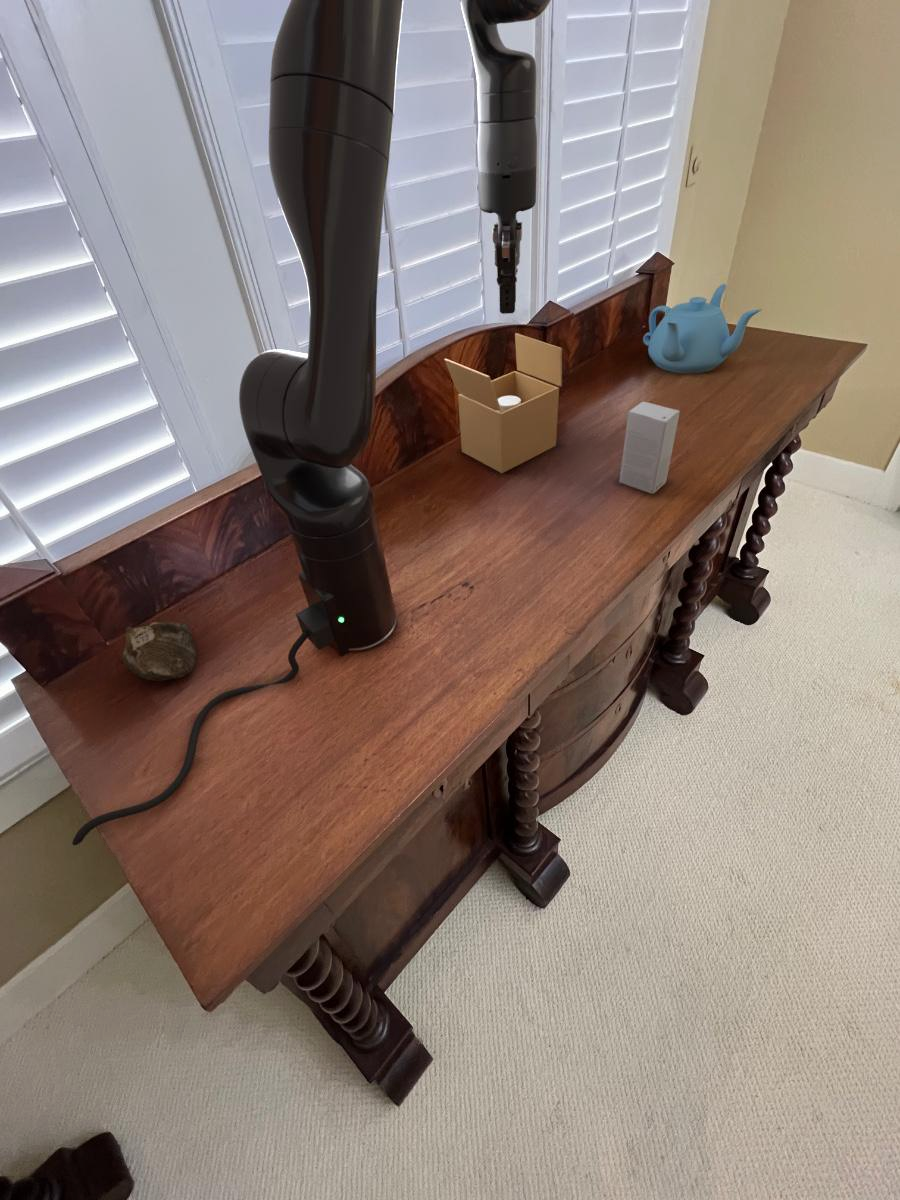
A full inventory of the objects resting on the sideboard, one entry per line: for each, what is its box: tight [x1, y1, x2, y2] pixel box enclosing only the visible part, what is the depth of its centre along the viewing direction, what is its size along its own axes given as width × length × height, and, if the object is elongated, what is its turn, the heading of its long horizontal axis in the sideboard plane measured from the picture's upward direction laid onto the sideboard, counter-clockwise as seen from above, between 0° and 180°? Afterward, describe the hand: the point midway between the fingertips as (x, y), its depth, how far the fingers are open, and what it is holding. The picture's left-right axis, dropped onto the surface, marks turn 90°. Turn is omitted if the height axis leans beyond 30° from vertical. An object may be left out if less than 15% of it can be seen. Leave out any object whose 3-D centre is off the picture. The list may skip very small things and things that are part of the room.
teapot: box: [642, 283, 763, 375], centre depth 119 cm, size 17×19×12 cm
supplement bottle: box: [497, 396, 521, 413], centre depth 99 cm, size 5×5×8 cm
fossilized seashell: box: [121, 621, 197, 682], centre depth 69 cm, size 8×7×10 cm
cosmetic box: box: [618, 401, 681, 495], centre depth 87 cm, size 6×4×12 cm
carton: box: [457, 332, 563, 474], centre depth 97 cm, size 14×10×17 cm
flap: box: [444, 358, 501, 411], centre depth 90 cm, size 6×10×1 cm
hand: (507, 307), depth 86 cm, fingers open, 3 cm apart
